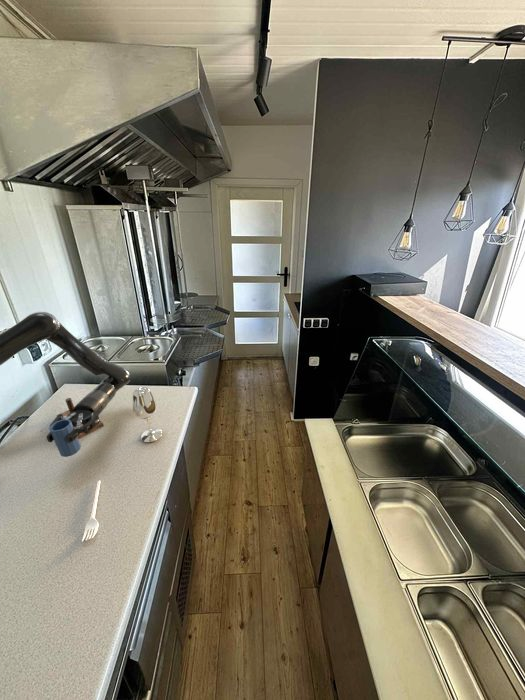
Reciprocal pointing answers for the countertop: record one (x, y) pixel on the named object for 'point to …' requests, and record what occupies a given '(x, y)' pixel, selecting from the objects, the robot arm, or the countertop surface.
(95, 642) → the countertop surface
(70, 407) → the peg rack
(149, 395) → the wineglass
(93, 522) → the fork
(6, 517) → the countertop surface
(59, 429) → the tube peg
